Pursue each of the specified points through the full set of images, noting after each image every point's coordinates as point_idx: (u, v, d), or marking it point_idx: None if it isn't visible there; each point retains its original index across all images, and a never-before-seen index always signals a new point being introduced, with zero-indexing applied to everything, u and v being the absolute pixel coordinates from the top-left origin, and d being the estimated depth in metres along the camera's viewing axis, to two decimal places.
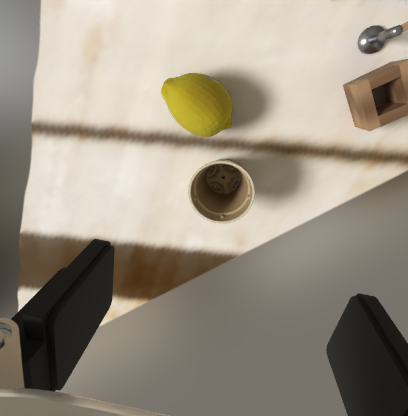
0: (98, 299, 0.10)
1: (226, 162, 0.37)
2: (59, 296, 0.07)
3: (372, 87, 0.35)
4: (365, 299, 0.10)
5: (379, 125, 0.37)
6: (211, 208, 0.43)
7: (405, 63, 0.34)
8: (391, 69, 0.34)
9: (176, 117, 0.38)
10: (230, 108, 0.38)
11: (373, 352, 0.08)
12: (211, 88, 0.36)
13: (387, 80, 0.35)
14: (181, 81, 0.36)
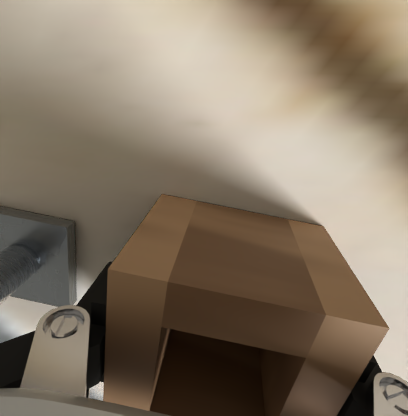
0: None
1: None
2: None
3: None
4: None
5: (321, 314, 0.06)
6: None
7: None
8: None
9: None
10: None
11: None
12: None
13: None
14: None
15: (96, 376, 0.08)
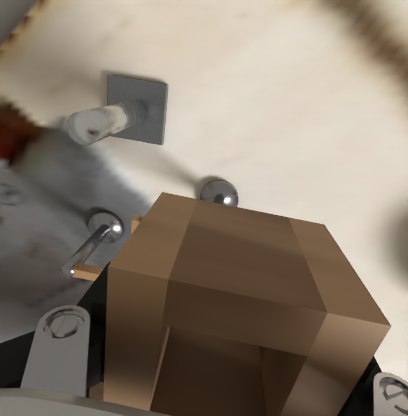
0: None
1: None
2: None
3: None
4: None
5: (322, 312, 0.06)
6: None
7: None
8: None
9: None
10: None
11: None
12: None
13: None
14: None
15: (96, 376, 0.08)
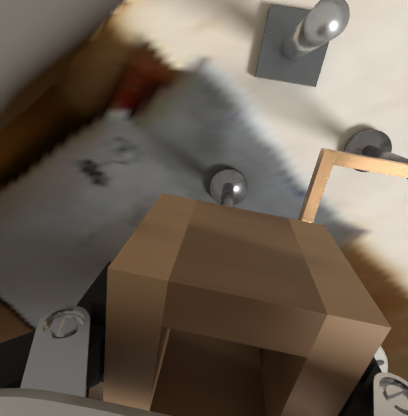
0: None
1: None
2: None
3: None
4: None
5: (322, 313, 0.06)
6: None
7: None
8: None
9: None
10: None
11: None
12: None
13: None
14: None
15: (96, 376, 0.08)
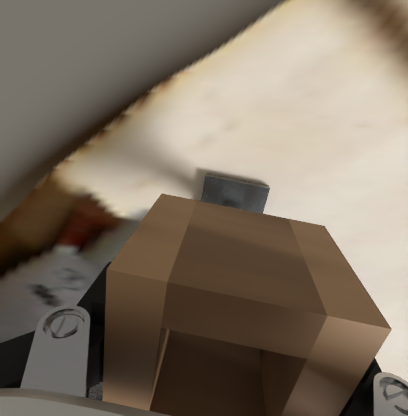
0: None
1: None
2: None
3: None
4: None
5: (322, 314, 0.06)
6: None
7: None
8: None
9: None
10: None
11: None
12: None
13: None
14: None
15: (96, 376, 0.08)
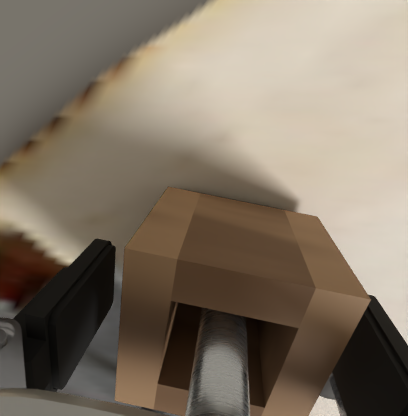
0: (99, 299, 0.10)
1: None
2: (61, 295, 0.07)
3: (256, 409, 0.09)
4: None
5: (311, 288, 0.07)
6: None
7: (135, 400, 0.10)
8: (179, 411, 0.10)
9: None
10: None
11: (371, 351, 0.08)
12: None
13: None
14: None
15: None
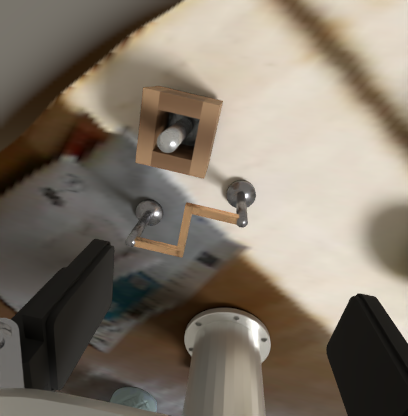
0: (98, 299, 0.10)
1: None
2: (59, 296, 0.07)
3: (189, 162, 0.25)
4: (365, 299, 0.10)
5: (203, 103, 0.23)
6: None
7: (143, 161, 0.25)
8: (160, 166, 0.25)
9: None
10: None
11: (373, 352, 0.08)
12: None
13: (169, 157, 0.25)
14: None
15: None
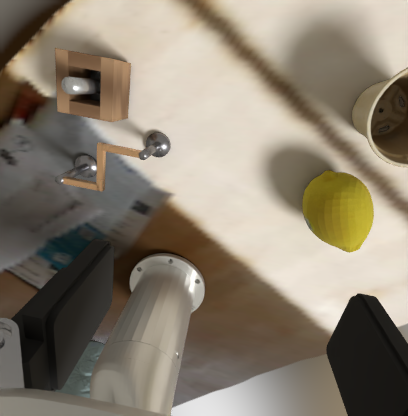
0: (98, 299, 0.10)
1: (377, 152, 0.27)
2: (59, 296, 0.07)
3: (98, 108, 0.31)
4: (365, 299, 0.10)
5: (101, 58, 0.29)
6: None
7: (63, 110, 0.31)
8: (77, 113, 0.31)
9: (371, 223, 0.32)
10: (315, 190, 0.32)
11: (373, 352, 0.08)
12: (318, 223, 0.32)
13: (82, 105, 0.31)
14: (336, 245, 0.34)
15: None
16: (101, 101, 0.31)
